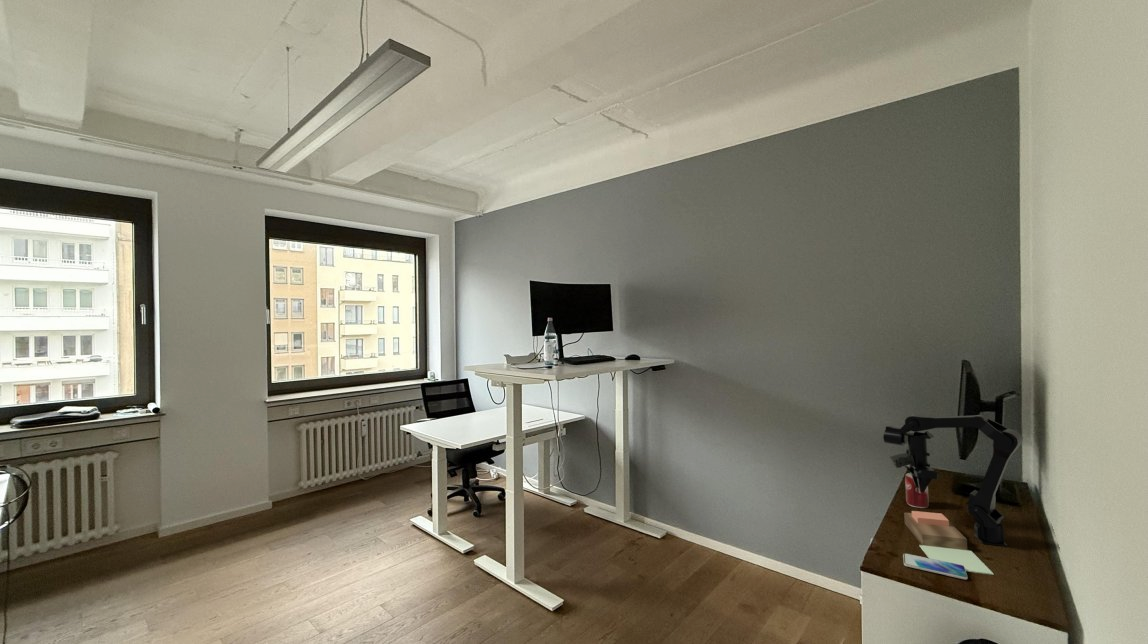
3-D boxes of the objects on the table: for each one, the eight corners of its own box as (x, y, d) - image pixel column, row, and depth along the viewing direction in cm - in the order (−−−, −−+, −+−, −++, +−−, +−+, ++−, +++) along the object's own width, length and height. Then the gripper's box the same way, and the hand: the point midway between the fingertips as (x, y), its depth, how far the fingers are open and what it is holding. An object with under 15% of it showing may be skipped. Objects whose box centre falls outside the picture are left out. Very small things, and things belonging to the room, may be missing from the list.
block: (942, 519, 160) (941, 513, 160) (949, 526, 154) (948, 520, 154) (911, 516, 163) (911, 510, 163) (917, 523, 157) (917, 517, 157)
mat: (971, 551, 145) (971, 550, 145) (993, 574, 132) (993, 573, 132) (919, 545, 150) (919, 544, 150) (936, 567, 137) (936, 566, 137)
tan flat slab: (944, 527, 162) (943, 516, 162) (967, 551, 145) (966, 539, 145) (904, 523, 166) (904, 512, 166) (922, 546, 150) (922, 534, 150)
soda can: (931, 505, 180) (930, 476, 181) (924, 510, 176) (923, 480, 176) (910, 500, 186) (909, 471, 187) (903, 504, 182) (902, 475, 182)
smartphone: (903, 552, 144) (964, 565, 135) (903, 555, 144) (964, 568, 135) (903, 563, 138) (968, 578, 129) (903, 566, 138) (968, 580, 129)
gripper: (885, 440, 179) (886, 479, 179) (900, 454, 161) (902, 497, 161) (918, 442, 175) (920, 482, 175) (937, 456, 157) (940, 500, 157)
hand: (919, 489), depth 167 cm, fingers open, 4 cm apart
